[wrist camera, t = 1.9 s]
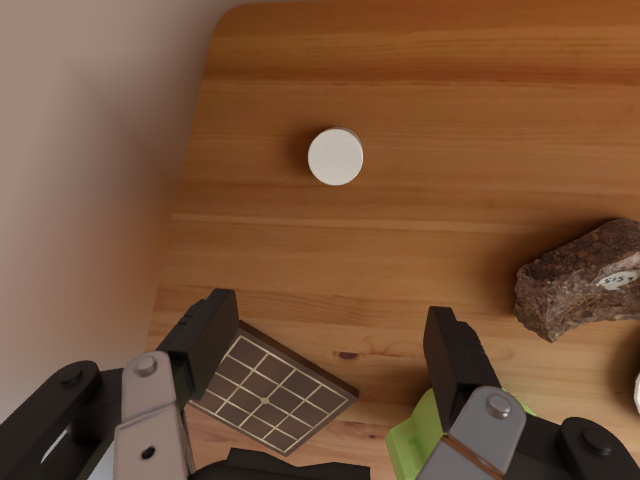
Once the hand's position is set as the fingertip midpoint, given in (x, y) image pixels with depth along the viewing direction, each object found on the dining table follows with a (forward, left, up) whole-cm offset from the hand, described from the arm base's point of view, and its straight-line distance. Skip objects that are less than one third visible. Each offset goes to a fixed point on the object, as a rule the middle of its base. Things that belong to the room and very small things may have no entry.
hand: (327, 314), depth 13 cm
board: (+8, -30, -18) cm, 36 cm away
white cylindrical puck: (-3, +2, -18) cm, 18 cm away
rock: (+22, +6, -18) cm, 29 cm away
